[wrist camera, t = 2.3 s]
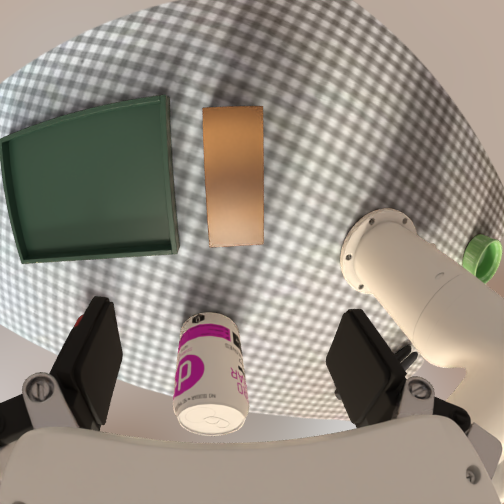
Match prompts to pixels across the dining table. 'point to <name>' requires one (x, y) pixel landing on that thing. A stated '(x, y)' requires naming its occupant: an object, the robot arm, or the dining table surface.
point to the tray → (93, 184)
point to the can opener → (402, 360)
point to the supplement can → (210, 376)
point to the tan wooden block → (234, 175)
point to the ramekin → (482, 257)
